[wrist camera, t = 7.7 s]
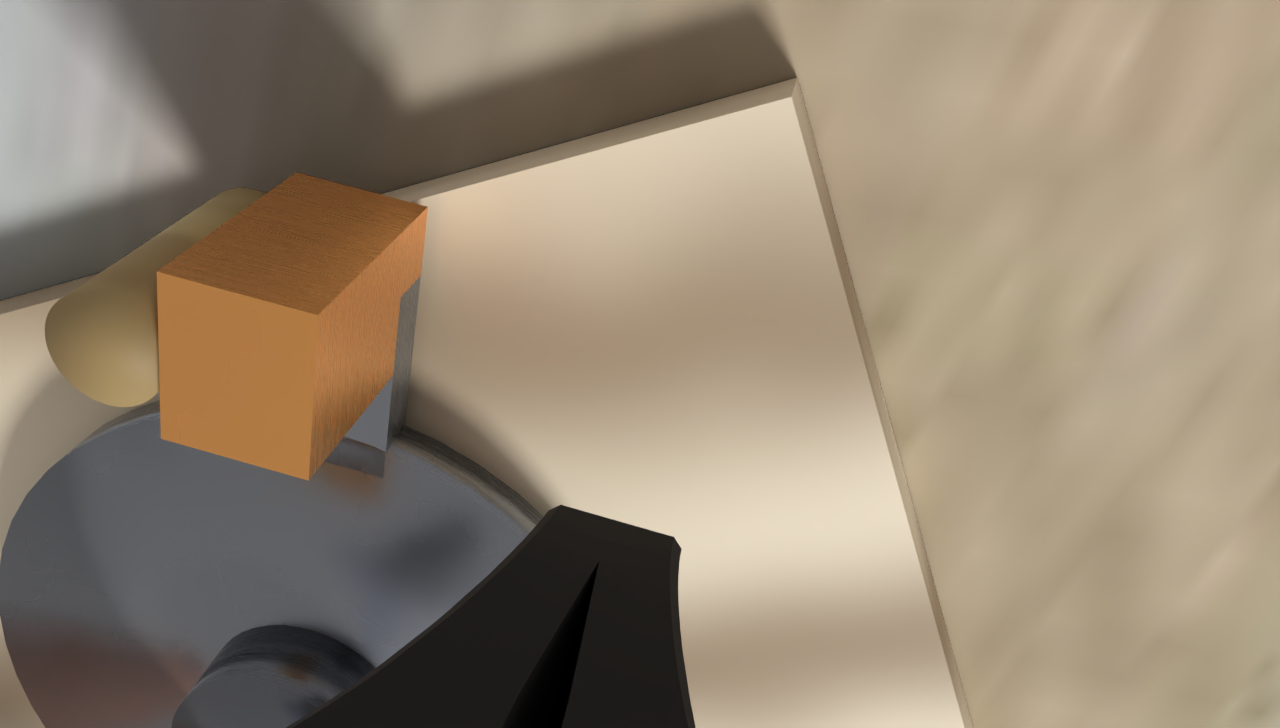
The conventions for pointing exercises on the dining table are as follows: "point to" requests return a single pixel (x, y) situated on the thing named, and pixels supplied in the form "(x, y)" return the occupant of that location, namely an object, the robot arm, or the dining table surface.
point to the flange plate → (255, 489)
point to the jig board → (615, 395)
